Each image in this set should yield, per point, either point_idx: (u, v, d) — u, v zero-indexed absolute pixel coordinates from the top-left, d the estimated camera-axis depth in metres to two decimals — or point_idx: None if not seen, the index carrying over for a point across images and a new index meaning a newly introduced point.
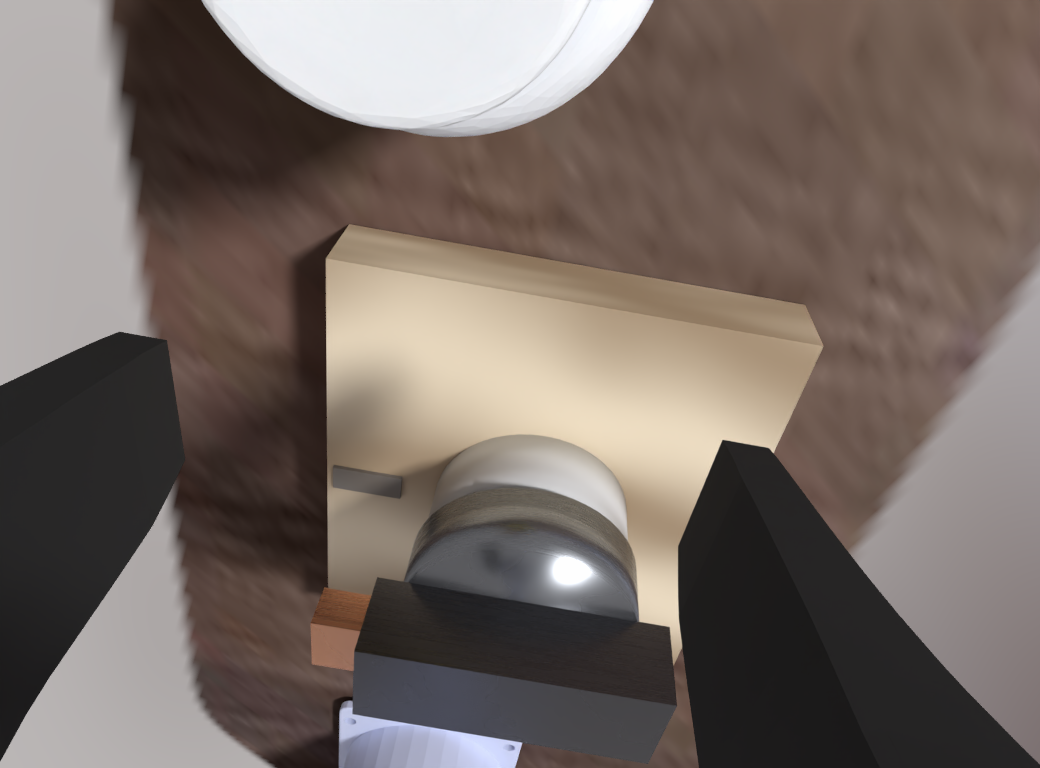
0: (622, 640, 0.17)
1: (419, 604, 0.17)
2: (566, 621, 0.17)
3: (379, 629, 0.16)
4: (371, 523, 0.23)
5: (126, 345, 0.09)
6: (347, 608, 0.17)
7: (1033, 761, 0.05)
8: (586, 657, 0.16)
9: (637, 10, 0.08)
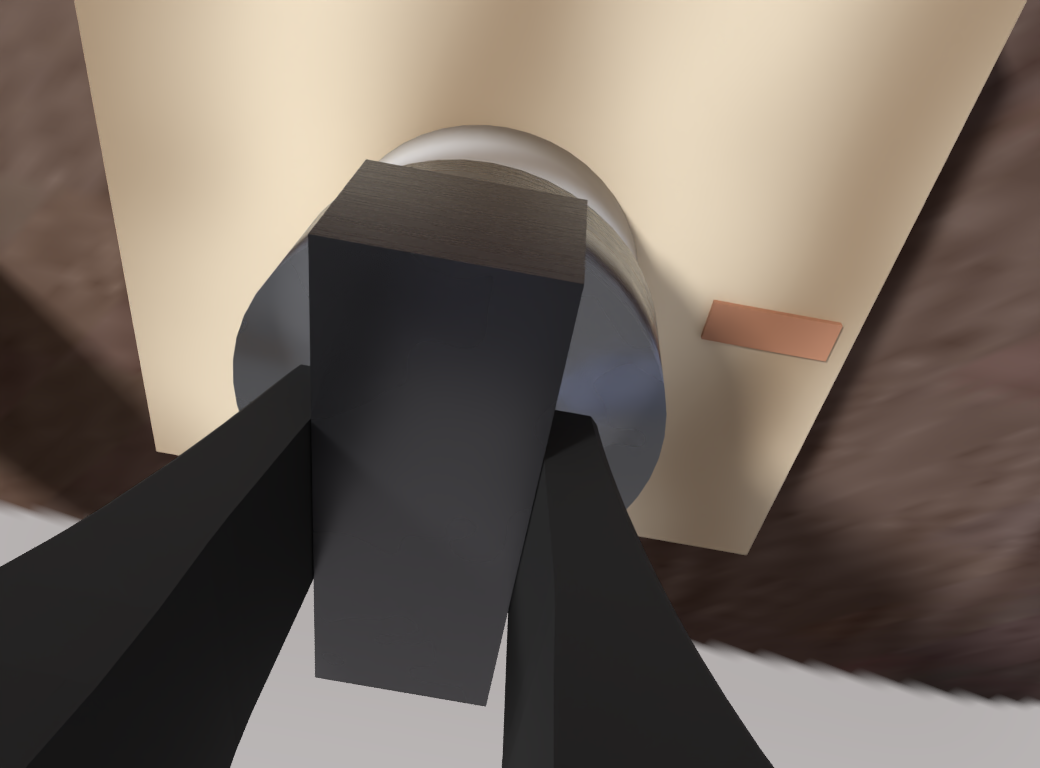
0: None
1: None
2: None
3: None
4: None
5: None
6: None
7: (732, 709, 0.05)
8: None
9: None
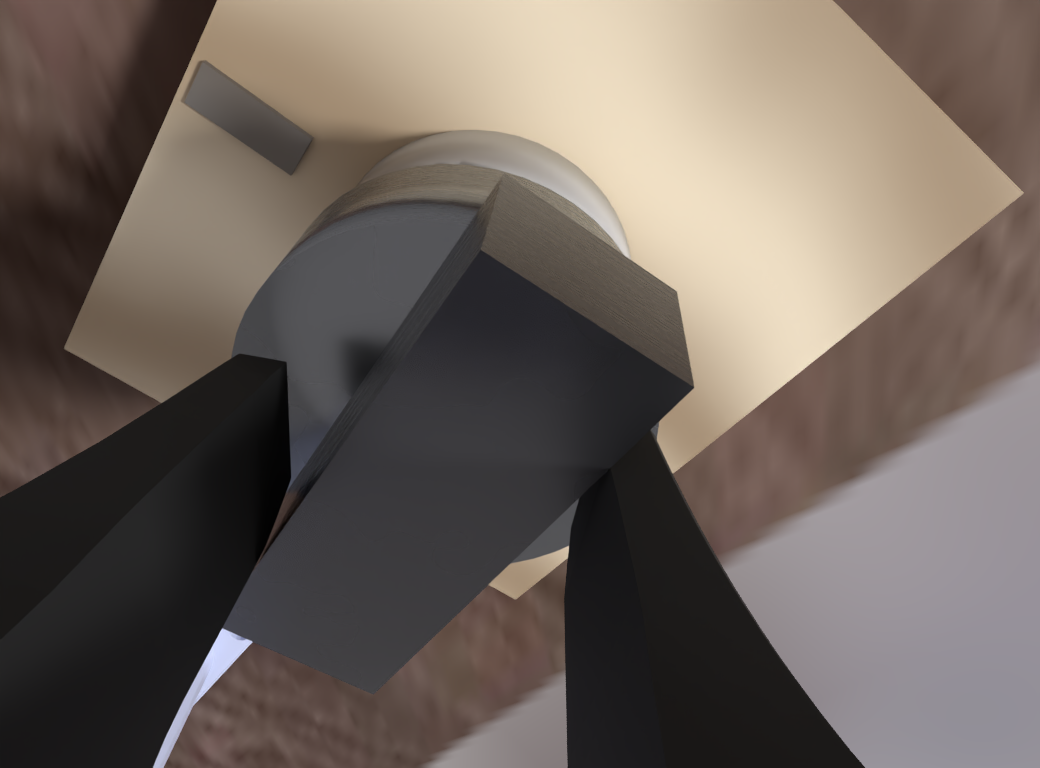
0: (443, 272, 0.08)
1: (282, 505, 0.11)
2: (394, 339, 0.09)
3: None
4: (217, 203, 0.13)
5: (251, 367, 0.09)
6: None
7: None
8: (397, 350, 0.08)
9: None
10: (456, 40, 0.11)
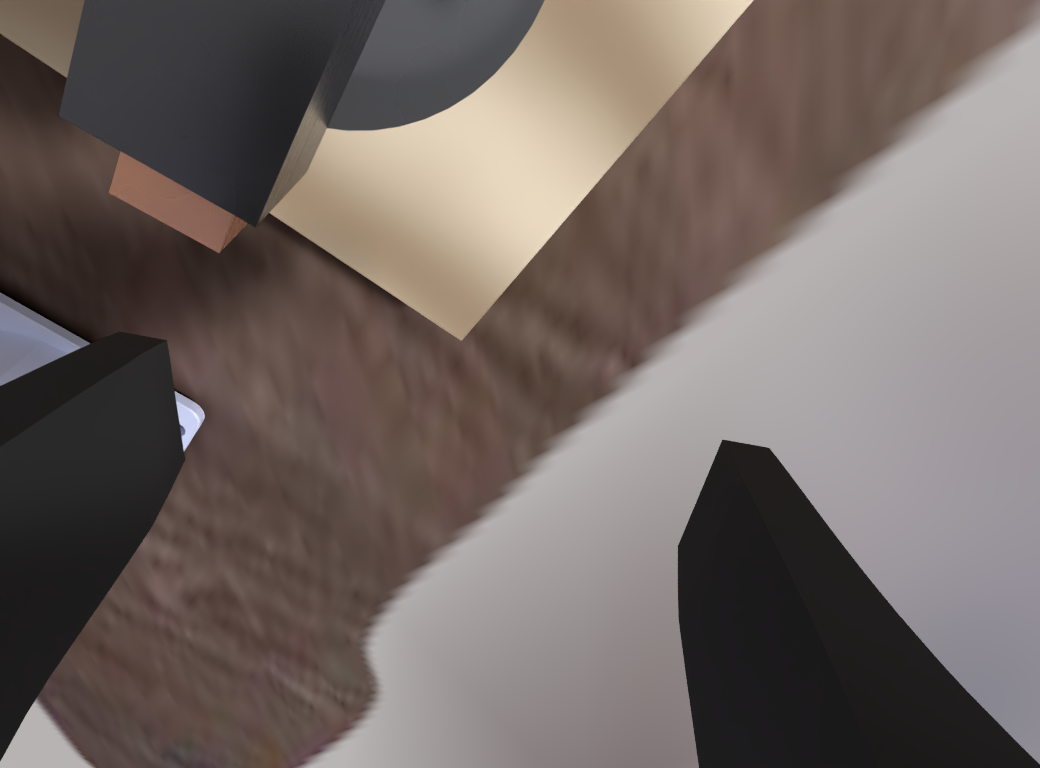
0: None
1: None
2: None
3: None
4: None
5: (126, 345, 0.09)
6: None
7: (1031, 761, 0.05)
8: None
9: None
10: None
